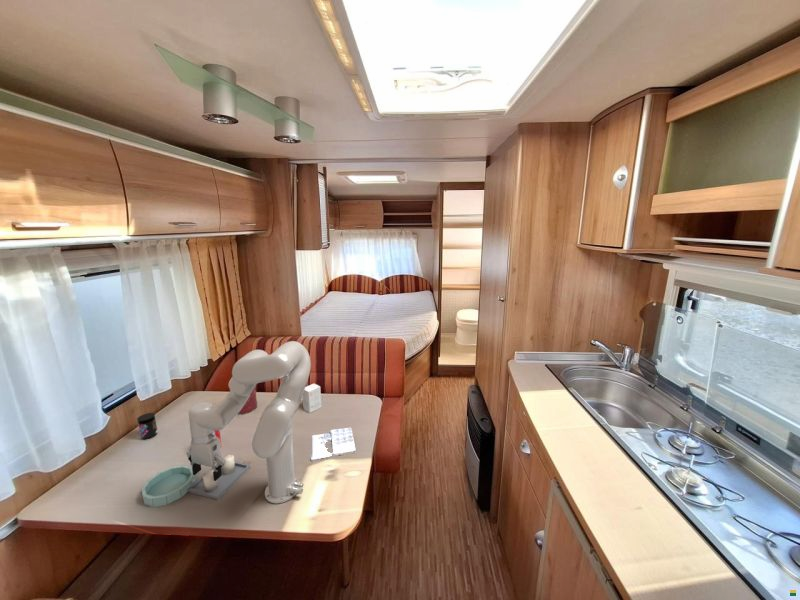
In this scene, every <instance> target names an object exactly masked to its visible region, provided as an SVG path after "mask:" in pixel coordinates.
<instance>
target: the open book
mask: <svg viewBox="0 0 800 600" xmlns="http://www.w3.org/2000/svg"><path fill="white" fill-rule="evenodd" d="M354 438H355V437H354V434H353V429H352V427H344V428H335V429H330V431H329V432H327V433H322V434H321V433H319V434H313V435H311V455H310V459H311V462H313V460H314V461H318V460H317V459H319V460H322V459H321V458H324V459H327V458H326V457H330V456H332V455H338V454H343V453H347V452H353V451H355V452H356V451H357V450H356V444H355V439H354ZM331 439H332V442H331V446H332V449H333V452H332V453H330V452H328V451H327V449H328V448H326V447H325V446H326V445H325V444H326V442H328V441H329V440H331Z"/></svg>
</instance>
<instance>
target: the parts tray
mask: <svg viewBox="0 0 800 600" xmlns="http://www.w3.org/2000/svg"><path fill="white" fill-rule="evenodd" d="M234 462H235V471H234V472H233V473H232V474H229V475H225V474H224V473H223V467H222V468H221V471H222V476H221V477H220V478H218V479H217V481H218V487H217V488H216V489H215V490H214V491H211V492H206V491H205V488H204V481H203V475H202V476H201V477H199V478H198V479H197V480H196V481H195V483H194V484H193V485H192V486H190V487H189V488H188V489H187V490H188V492H187V493H190V494H194V495H199V496H202V497H205V498H206V497H207V498H210V499H214V500H217V501H218V500H219V499H221V497H222V496H223V495H225V494H226V492H227V491H228V490H229V489H231V488H232V486H234V485H235V484H236V483H237V481H239V480H240V479H241V477H243V476H244V474H246V473H247V471H249V469H251V464H248V463H243V462H239V461H235V460H234ZM215 466H216V468H217V467H218V465H217V463H216V464H215ZM210 470H213V469H212V467H210V469H208V471H210Z"/></svg>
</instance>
